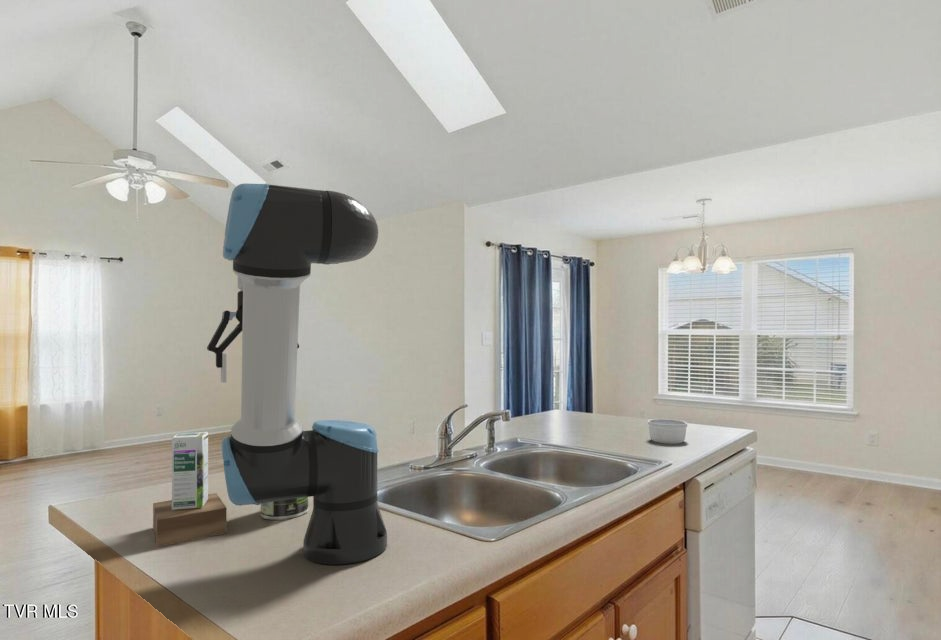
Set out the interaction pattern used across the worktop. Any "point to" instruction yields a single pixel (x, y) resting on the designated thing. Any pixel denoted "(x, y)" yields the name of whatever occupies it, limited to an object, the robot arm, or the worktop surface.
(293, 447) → the robot arm
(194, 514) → the plinth
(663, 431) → the ramekin
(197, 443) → the syrup box
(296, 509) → the coffee can
